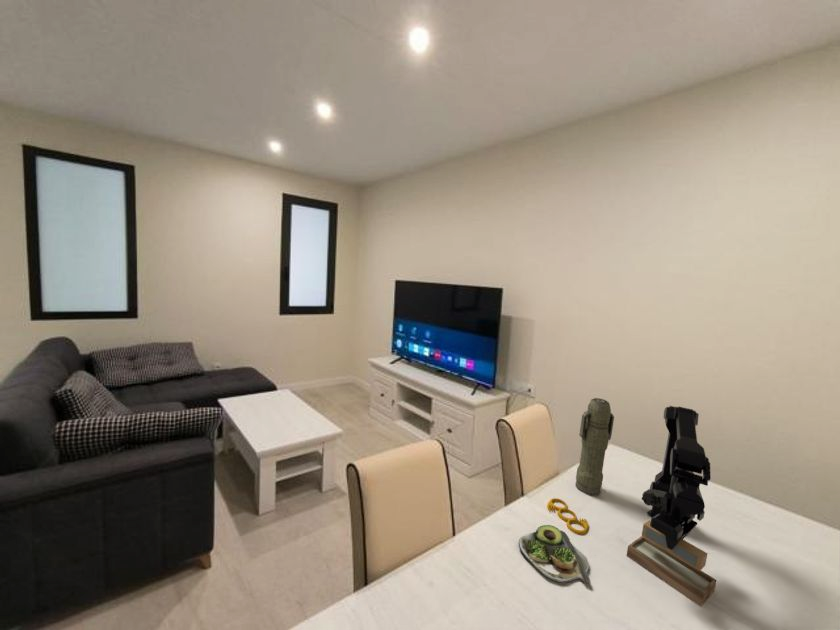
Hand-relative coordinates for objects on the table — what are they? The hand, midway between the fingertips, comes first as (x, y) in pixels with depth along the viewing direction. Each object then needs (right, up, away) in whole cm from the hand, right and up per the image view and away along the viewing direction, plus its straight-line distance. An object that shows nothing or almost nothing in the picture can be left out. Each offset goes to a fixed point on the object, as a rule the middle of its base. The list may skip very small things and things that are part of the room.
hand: (672, 545), depth 97 cm
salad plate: (-32, -6, +4) cm, 32 cm away
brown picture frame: (-1, -8, +1) cm, 8 cm away
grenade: (-5, -3, +38) cm, 39 cm away
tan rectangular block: (0, -1, 0) cm, 1 cm away
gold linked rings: (-20, -5, +21) cm, 30 cm away
